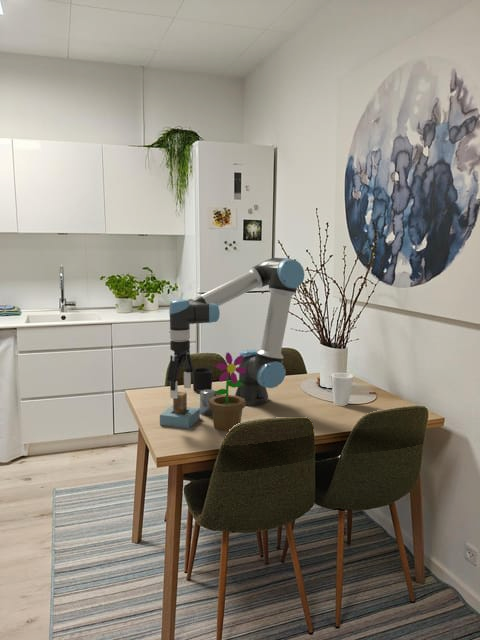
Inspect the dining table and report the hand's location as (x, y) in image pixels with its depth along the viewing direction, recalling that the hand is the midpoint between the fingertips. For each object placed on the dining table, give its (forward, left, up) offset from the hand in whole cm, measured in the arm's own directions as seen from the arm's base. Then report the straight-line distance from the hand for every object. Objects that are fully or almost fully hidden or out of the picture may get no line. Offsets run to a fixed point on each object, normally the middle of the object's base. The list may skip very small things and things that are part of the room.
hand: (181, 393), depth 200 cm
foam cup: (-59, -43, -12) cm, 74 cm away
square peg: (0, 0, -11) cm, 11 cm away
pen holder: (+6, -42, -12) cm, 44 cm away
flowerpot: (-19, -1, -12) cm, 22 cm away
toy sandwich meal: (-51, -70, -12) cm, 88 cm away
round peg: (-7, -13, -12) cm, 18 cm away
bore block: (0, 0, -12) cm, 12 cm away
